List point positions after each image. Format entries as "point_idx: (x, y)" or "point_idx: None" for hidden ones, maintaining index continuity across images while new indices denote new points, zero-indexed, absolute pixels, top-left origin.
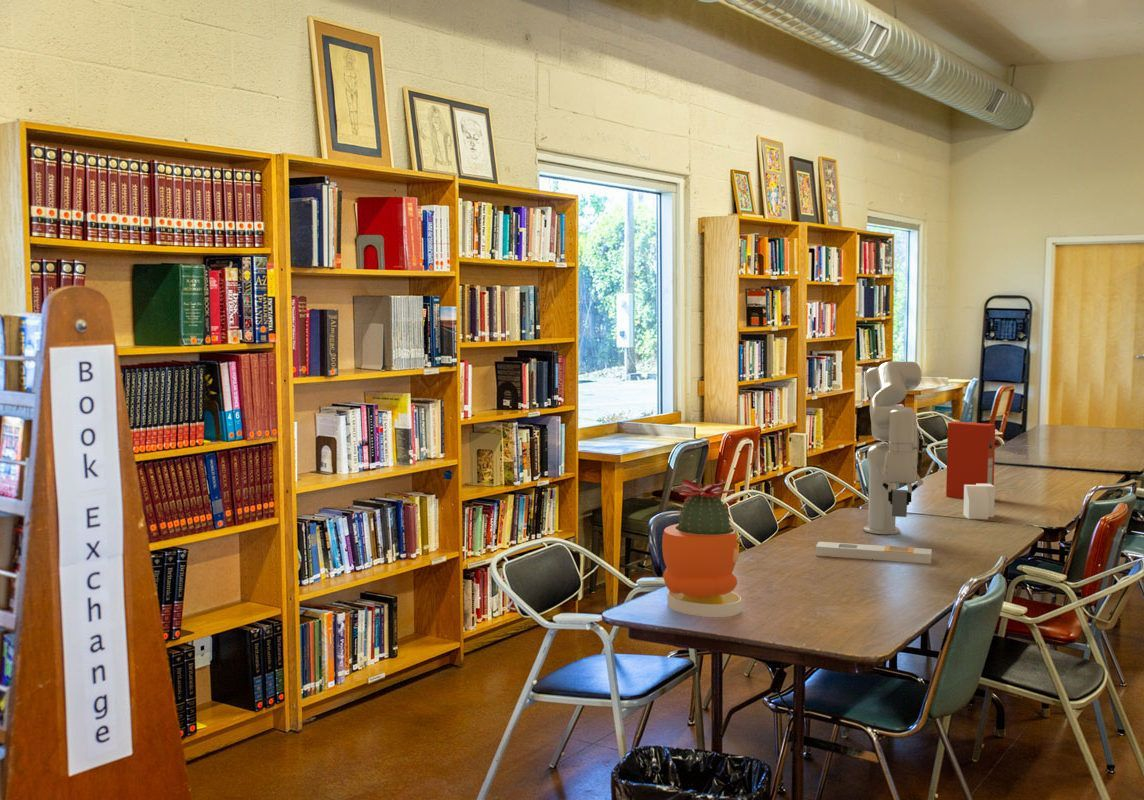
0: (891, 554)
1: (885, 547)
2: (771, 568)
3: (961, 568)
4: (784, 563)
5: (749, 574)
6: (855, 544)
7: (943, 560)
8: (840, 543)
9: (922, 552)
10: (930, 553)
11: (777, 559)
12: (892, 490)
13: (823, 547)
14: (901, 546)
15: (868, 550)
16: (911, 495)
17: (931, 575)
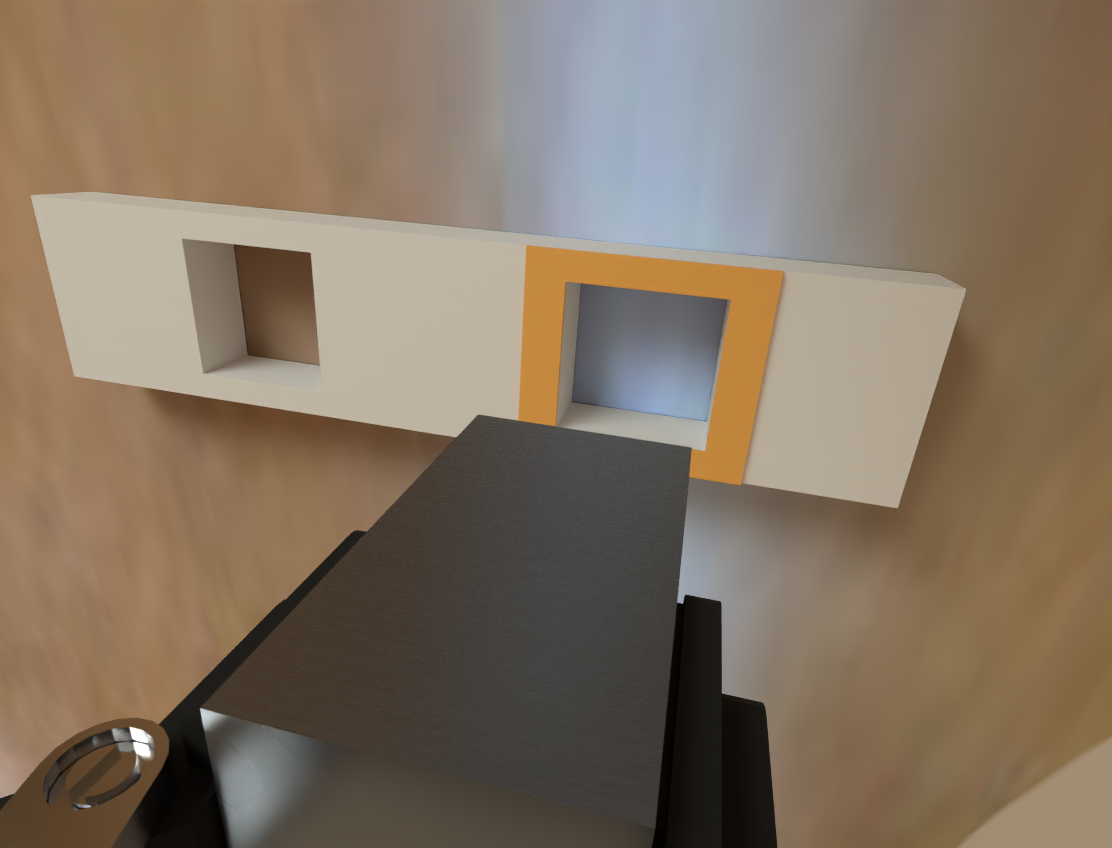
0: None
1: (525, 335)
2: (56, 654)
3: (1096, 585)
4: (63, 563)
5: (30, 741)
6: (290, 240)
7: (1032, 338)
8: (182, 229)
9: (831, 450)
10: (899, 477)
11: (3, 486)
12: (216, 820)
13: (122, 383)
14: (667, 262)
15: (408, 429)
16: (773, 831)
17: (806, 753)
